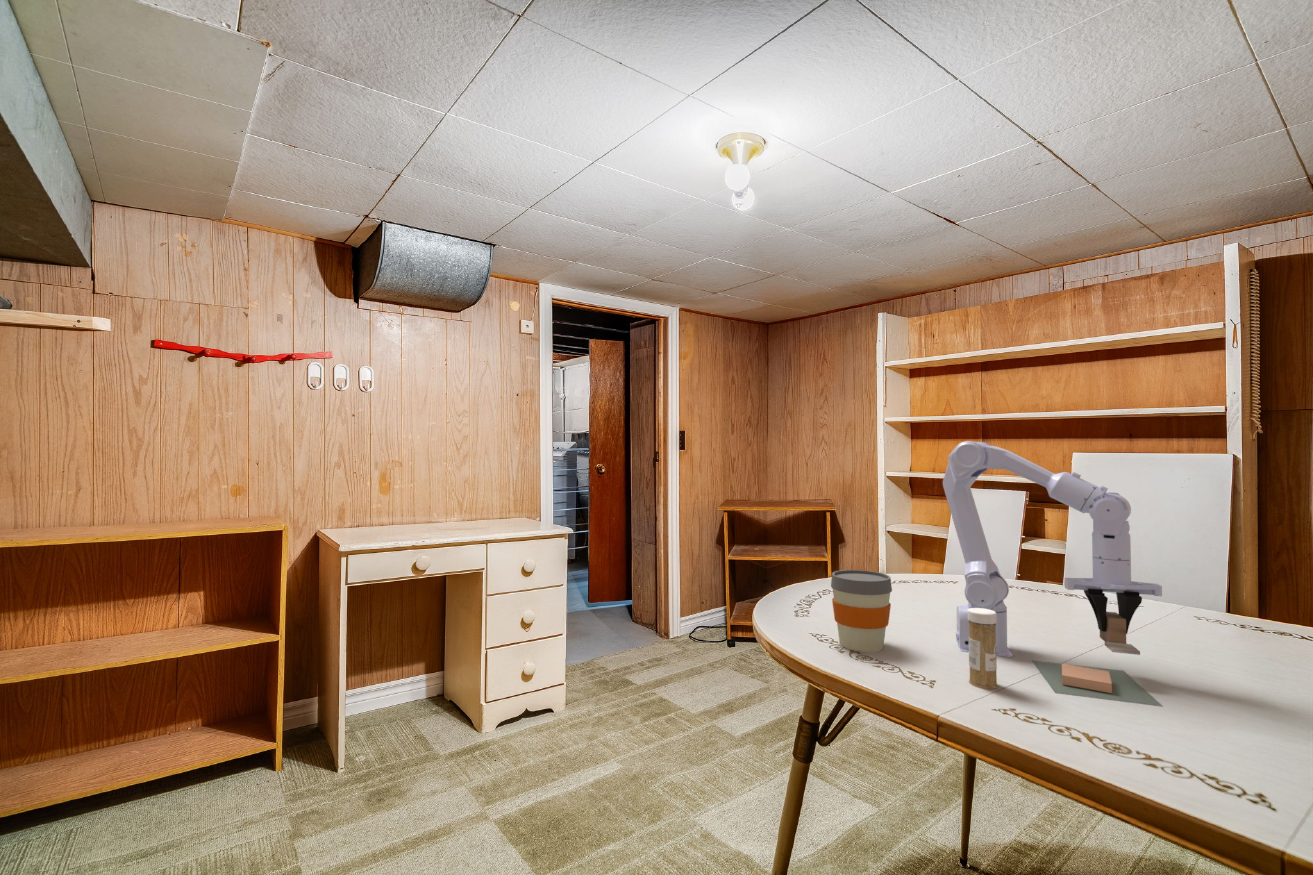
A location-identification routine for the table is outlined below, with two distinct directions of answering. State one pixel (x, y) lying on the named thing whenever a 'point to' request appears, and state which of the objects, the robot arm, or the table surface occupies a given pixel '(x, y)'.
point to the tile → (1086, 678)
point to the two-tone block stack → (1117, 635)
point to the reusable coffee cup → (861, 608)
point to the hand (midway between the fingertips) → (1112, 631)
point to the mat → (1121, 690)
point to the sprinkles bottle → (982, 648)
